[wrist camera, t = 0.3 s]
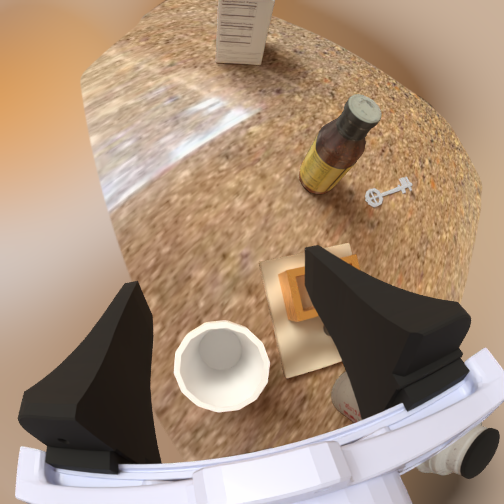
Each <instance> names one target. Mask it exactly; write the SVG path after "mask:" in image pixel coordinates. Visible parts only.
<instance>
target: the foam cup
mask: <svg viewBox="0 0 504 504" xmlns="http://www.w3.org/2000/svg"><path fill="white" fill-rule="evenodd" d="M269 366H270V361H269V359H268V356H267V353H266V351H265V348H264V345H263V343H262V342H261V341H260V340H259V339H258V338H257V337H256V336H255V335H254V334H253V333H251V332H250V331H249V330H248V329H247V328H246V327H244V326H241V325H238V324H235V323H233V322H230V321H227V320H224V321H214V322H206V323H204V324H202V325H201V326H199V327H197V328H196V329H194V330H192V331H191V332H189V333H188V334H187V335H186V337H185V338H184V340H183V341H182V343H181V344H180V346H179V348H178V349H177V351H176V352H175V364H174V375H175V377H176V380H177V382H178V384H179V387H180V389H181V391H182V393H183V394H184V395H186V396H187V397H188V398H189V399H190V400H191V401H192V402H193V403H195V404H196V405H197V406H199V407H202V408H205V409H208V410H212V411H215V412H226V411H234V410H239V409H241V408H243V407H245V406H246V405H248V404H250V403H251V402H253V401H255V400H256V399H257V398H258V396H259V395H260V393H261V392H262V390H263V389H264V387H265V386H266V384H267V383H268V375H269Z"/></svg>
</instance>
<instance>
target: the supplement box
mask: <svg viewBox="0 0 504 504" xmlns="http://www.w3.org/2000/svg"><path fill="white" fill-rule="evenodd" d="M274 3H275V0H219V1H218V19H217V40H216V63H238V64H252V65H261V62H262V57H263V53H264V48H265V43H266V38H267V34H268V29H269V25H270V20H271V16H272V11H273V7H274Z"/></svg>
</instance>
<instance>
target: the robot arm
mask: <svg viewBox="0 0 504 504" xmlns="http://www.w3.org/2000/svg"><path fill="white" fill-rule="evenodd" d="M305 287H306V290H307V292H308V295H309V297H310V300H311V302H312V304H313V306H314V308H315V310H316V311H317V313H318V315H319V317H320V319H321V320H322V322H323V324H324V326H325V327H326V329H327V331H328V333H329V334H330V336H331V338H332V340H333V342H334V344H335V346H336V348H337V350H338V352H339V355H340V357H341V359H342V362H343V364H344V367H345V370H346V372H347V375H348V378H349V380H350V383H351V386H352V389H353V392H354V395H355V398H356V401H357V404H358V408H359V411H360V415H361V418H362V420H361V421H359V422H356V423H354V424H351V425H348V426H346V427H343V428H340V429H337V430H334V431H331V432H328V433H325V434H322V435H319V436H316V437H313V438H309V439H306V440H302V441H299V442H295V443H291V444H288V445H284V446H280V447H275V448H269V449H265V450H261V451H257V452H253V453H247V454H242V455H236V456H230V457H224V458H217V459H210V460H202V461H192V462H182V463H168V464H162V463H161V458H160V454H159V450H158V445H157V440H156V434H155V428H154V421H153V412H152V403H151V390H150V377H151V361H152V348H153V316H152V313H151V311H150V309H149V306H148V304H147V302H146V300H145V297H144V295H143V292H142V290H141V288H140V285H139V283H138V281H135V282H130V283H125V284H124V285H123V287H122V288H121V289H120V291H119V292H118V294H117V295H116V297H115V298H114V299H113V301H112V302H111V304H110V305H109V307H108V308H107V310H106V311H105V313H104V314H103V316H102V317H101V318H100V320H99V321H98V322H97V324H96V325H95V326H94V327H93V329H92V330H91V332H90V333H89V334H88V335H87V337H86V338H85V339H84V340H83V342H81V344H80V345H79V346H78V347H77V348H76V349H75V350H74V351H73V352H72V353H71V354H70V355H69V356H68V357H67V358H66V359H65V360H64V361H63V362H62V363H61V364H60V365H59V366H58V367H57V368H56V369H55V370H53V371H52V372H51V373H50V374H49V375H47V376H46V377H45V378H43V379H42V380H41V381H39V382H38V383H37V384H35V385H34V386H32V387H31V388H30V389H28V390H26V391H25V392H24V395H23V399H22V402H21V407H20V411H19V415H18V421H19V423H20V425H21V426H22V427H23V428H24V429H25V430H26V431H27V432H28V433H30V434H31V435H33V436H34V437H35V438H37V439H38V440H39V441H41V442H42V443H44V444H45V445H47V451H46V452H45V451H42V450H39V449H34V448H28V447H24V446H21V447H20V453H19V461H18V468H17V479H16V493H15V497H16V498H17V499H19V500H21V501H23V502H26V503H28V504H412V501H411V499H410V497H409V495H408V492H407V490H406V488H405V486H404V483H403V482H402V479H401V477H400V475H402V474H404V473H406V472H407V471H410V470H411V469H413V468H415V467H417V466H418V465H420V464H422V463H423V462H425V461H427V460H428V459H430V458H432V457H433V456H435V455H436V454H438V453H439V452H441V451H442V450H444V449H445V448H447V447H448V446H450V445H451V444H453V443H454V442H456V441H457V440H458V439H460V438H461V437H463V436H464V435H465V434H467V433H468V432H469V431H471V430H472V429H473V428H475V427H476V426H477V425H479V424H480V423H481V422H482V421H484V420H485V419H486V418H487V417H488V416H489V415H490V414H491V413H492V412H493V411H494V410H496V409H497V408H498V407H499V405H501V404H502V403H503V402H504V370H503V369H502V367H501V366H500V365H499V363H498V362H497V361H496V359H495V358H494V357H493V355H492V354H491V353H490V352H489V350H488V349H487V348H483V349H482V350H480V351H479V352H478V353H476V354H474V355H473V356H471V357H470V358H469V359H468V360H466V361H465V363H464V362H463V361H462V359H461V357H462V355H463V353H462V352H461V350H460V349H459V346H460V345H461V343H462V341H463V339H464V338H465V336H466V334H467V332H468V330H469V328H470V324H471V317H470V315H469V314H468V313H467V312H466V311H465V310H464V309H463V308H462V307H461V305H460V304H459V303H458V302H454V301H448V300H441V299H436V298H431V297H427V296H423V295H419V294H416V293H412V292H409V291H406V290H403V289H400V288H397V287H395V286H392V285H390V284H388V283H385V282H383V281H381V280H378V279H376V278H374V277H372V276H370V275H368V274H366V273H364V272H362V271H361V270H359V269H357V268H355V267H354V266H352V265H350V264H348V263H347V262H345V261H343V260H342V259H340V258H339V257H337V256H335V255H334V254H332V253H330V252H329V251H327V250H326V249H324V248H322V247H320V246H319V245H316V246H311V247H306V248H305Z"/></svg>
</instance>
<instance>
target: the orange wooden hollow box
mask: <svg viewBox="0 0 504 504" xmlns="http://www.w3.org/2000/svg"><path fill="white" fill-rule="evenodd" d="M340 259H342V260H343V261H345V262H347V263H348V264H350V265H352V266H354V267H355V268H357V269H359V270H360V267H359V263H358V259H357V255H356V254H355V255H351V256H346V257H342V258H340ZM301 276H305V266H303V267H299V268H294V269H290V270H286V271H284V272H282V273H280V274H278V278H279V282H280V286H281V291H282V295H283V299H284V304H285V308H286V313H287V317H288V320H291V321H296V322H299V321H303V320H307V319H310V318H314V317H317V316H319V315H318V313H317V311H316V310H315V308H314V306H312V307H308V308H304V309H303V307H302V303H301V298H300V294H299V289H298V285H297V281H296V278H297V277H301Z"/></svg>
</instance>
